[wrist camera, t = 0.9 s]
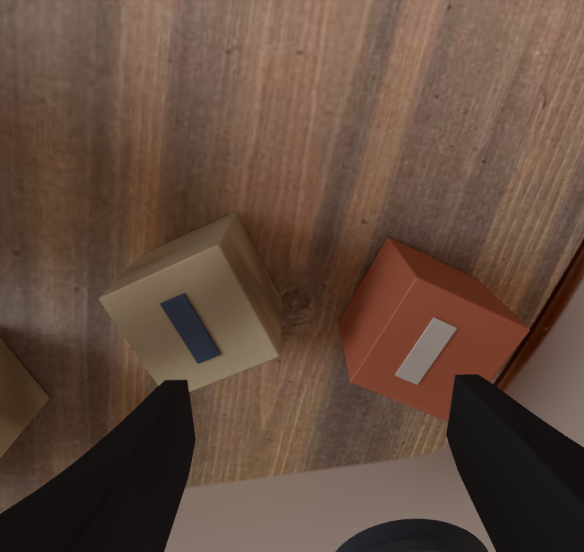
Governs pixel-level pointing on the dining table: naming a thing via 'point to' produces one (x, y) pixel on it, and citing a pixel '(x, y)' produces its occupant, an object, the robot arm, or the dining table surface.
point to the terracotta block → (423, 329)
